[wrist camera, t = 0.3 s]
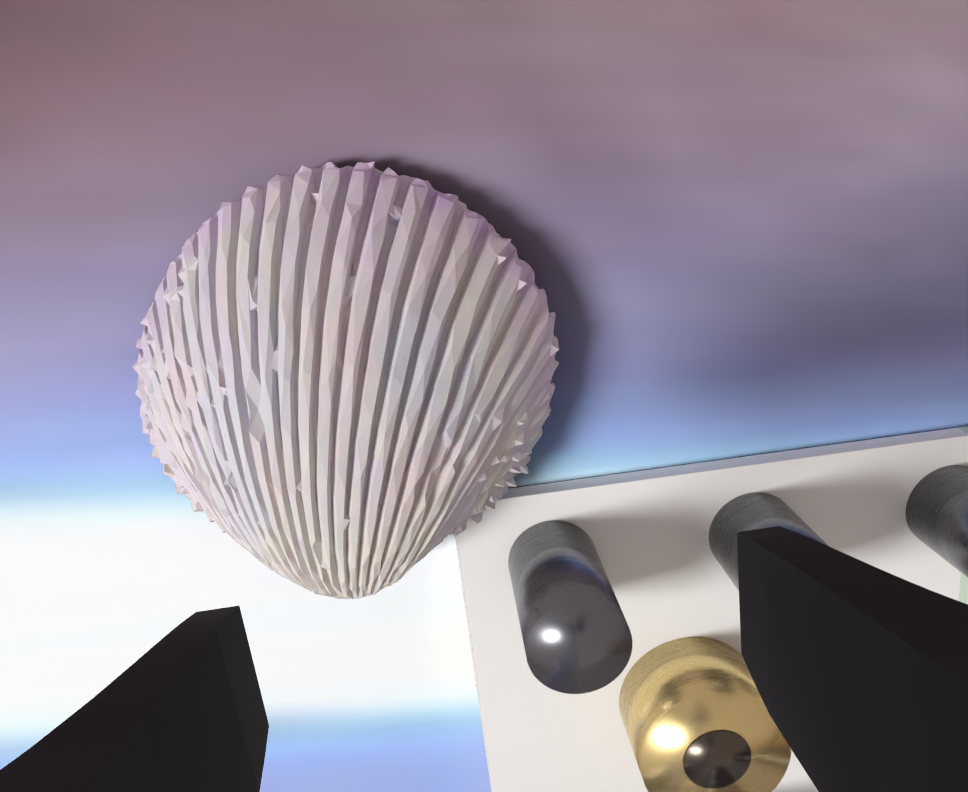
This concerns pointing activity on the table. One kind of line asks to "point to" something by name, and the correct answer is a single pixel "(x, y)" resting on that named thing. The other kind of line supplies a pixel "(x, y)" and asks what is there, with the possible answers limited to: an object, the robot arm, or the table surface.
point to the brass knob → (700, 721)
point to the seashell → (345, 373)
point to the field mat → (672, 584)
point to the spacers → (592, 602)
